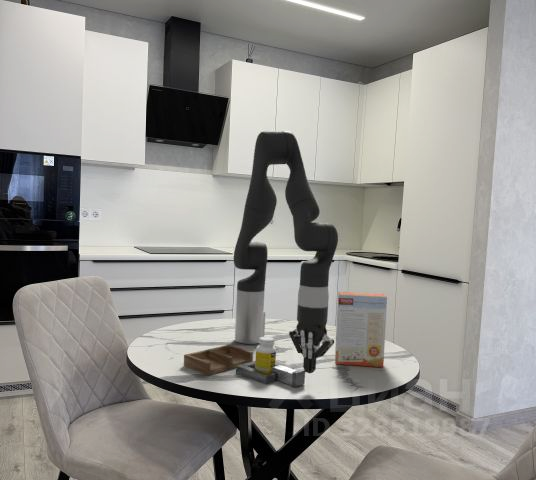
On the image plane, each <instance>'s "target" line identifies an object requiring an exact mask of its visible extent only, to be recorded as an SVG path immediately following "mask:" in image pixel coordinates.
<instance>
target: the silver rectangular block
mask: <svg viewBox="0 0 536 480" xmlns="http://www.w3.org/2000/svg"><path fill="white" fill-rule="evenodd" d="M272 373H275V381H278V382H281V383H285V384H287V385H290V386H292V387H295V388H297V387H300V386H303V385H305V382H306V372H305V371H304V368H301V369H298V370H297V369H295V368H294V369H291V368H288V367H285V366H282V365H278V366H275V367H273V369H272Z"/></svg>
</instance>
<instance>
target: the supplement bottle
mask: <svg viewBox="0 0 536 480" xmlns="http://www.w3.org/2000/svg"><path fill="white" fill-rule="evenodd" d="M274 344H275V338H273V337H270V336H264V337H260V338H259V343H258V345H257V346H256V348H255V360H254V361H255V369H256V370H259V371H262V372H265V373H267V372H272V369H273V367H275V362H277V361H276V359H277V357H276V356H277V349H276V347H275V346H274Z"/></svg>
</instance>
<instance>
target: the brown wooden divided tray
mask: <svg viewBox="0 0 536 480" xmlns="http://www.w3.org/2000/svg"><path fill="white" fill-rule="evenodd" d="M253 359H254V351H251V350H248V349H244V348H241V347H238V346H235V345H232V344H226V345H221V346H217V347H212V348H207V349H204V350H199V351H195V352H190V353H186V354H183V367H185V368H187V369H190V370H193V371H195V372H197V373H199V374H202V375H205V376H211V375H213V374H219V373H222V372H225V371H228V370H232V369H236V366H238V365H241V364H245V363H249V362H252V361H254V360H253Z"/></svg>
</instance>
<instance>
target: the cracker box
mask: <svg viewBox="0 0 536 480" xmlns="http://www.w3.org/2000/svg"><path fill="white" fill-rule="evenodd" d="M387 301H388V297H387V295H386V294H384V293H369V292H352V291H338V292H337V309H336V311H337V312H336V329H335V331H336V332H335V351H334V352H335V354H334V361H335V365H347V366H361V367H374V368H376V367H377V368H384V365H385V364H384V362H385V361H384V360H385V343H386V327H387V325H386V323H387V304H388V302H387Z"/></svg>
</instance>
